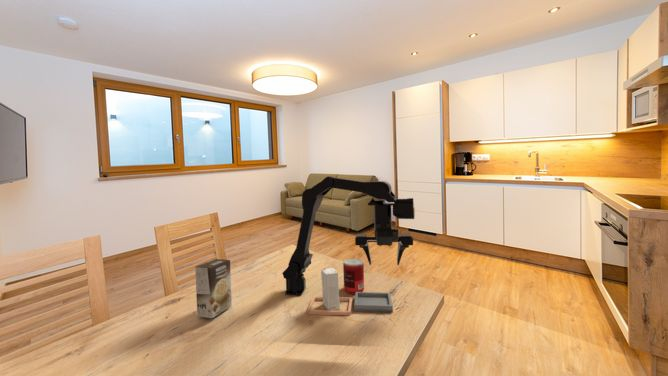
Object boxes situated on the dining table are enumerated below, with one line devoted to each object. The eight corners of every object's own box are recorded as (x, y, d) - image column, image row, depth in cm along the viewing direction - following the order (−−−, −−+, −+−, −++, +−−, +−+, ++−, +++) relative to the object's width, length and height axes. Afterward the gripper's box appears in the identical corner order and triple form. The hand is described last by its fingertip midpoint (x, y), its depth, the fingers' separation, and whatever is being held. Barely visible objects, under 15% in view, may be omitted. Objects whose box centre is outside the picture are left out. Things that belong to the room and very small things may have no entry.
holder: (306, 314, 86) (306, 310, 86) (313, 299, 97) (313, 296, 97) (350, 315, 85) (350, 312, 85) (352, 300, 95) (352, 297, 95)
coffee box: (212, 319, 85) (210, 268, 84) (196, 316, 87) (194, 266, 87) (232, 305, 94) (230, 259, 93) (217, 303, 96) (215, 258, 95)
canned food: (364, 285, 107) (363, 258, 107) (364, 294, 99) (363, 264, 99) (344, 285, 108) (343, 258, 108) (343, 294, 100) (342, 264, 100)
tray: (354, 311, 87) (354, 304, 87) (355, 297, 97) (355, 291, 97) (392, 312, 86) (392, 305, 86) (390, 298, 96) (389, 292, 96)
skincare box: (340, 309, 89) (339, 272, 88) (327, 312, 87) (326, 274, 87) (334, 301, 94) (333, 267, 94) (321, 303, 93) (320, 268, 93)
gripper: (353, 223, 85) (355, 272, 85) (415, 222, 82) (416, 273, 83) (355, 217, 96) (356, 261, 96) (409, 216, 93) (411, 262, 94)
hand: (384, 264), depth 92 cm, fingers open, 9 cm apart
